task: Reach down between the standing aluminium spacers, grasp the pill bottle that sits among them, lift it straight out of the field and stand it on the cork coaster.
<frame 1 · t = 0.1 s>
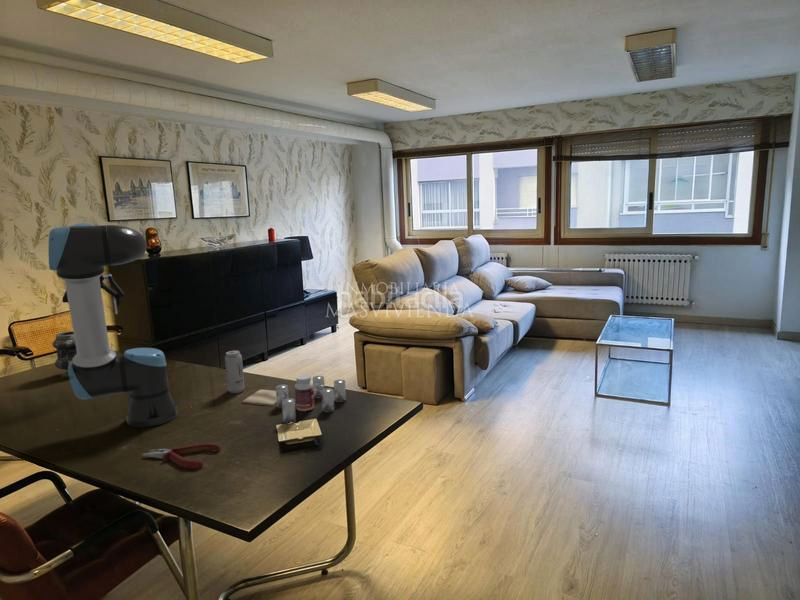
hand: (96, 314, 201), 28 cm above the table, tool tilted 20°, fingers open, 13 cm apart
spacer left: (283, 405, 178), on the table
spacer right: (328, 410, 173), on the table
spacer near: (289, 421, 165), on the table
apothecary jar: (74, 374, 218), on the table
coaster: (266, 398, 185), on the table
grey cylinder: (340, 400, 181), on the table
pill bottle: (305, 408, 176), on the table
pliers: (185, 457, 145), on the table
energy drink can: (236, 391, 193), on the table
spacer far: (319, 396, 186), on the table
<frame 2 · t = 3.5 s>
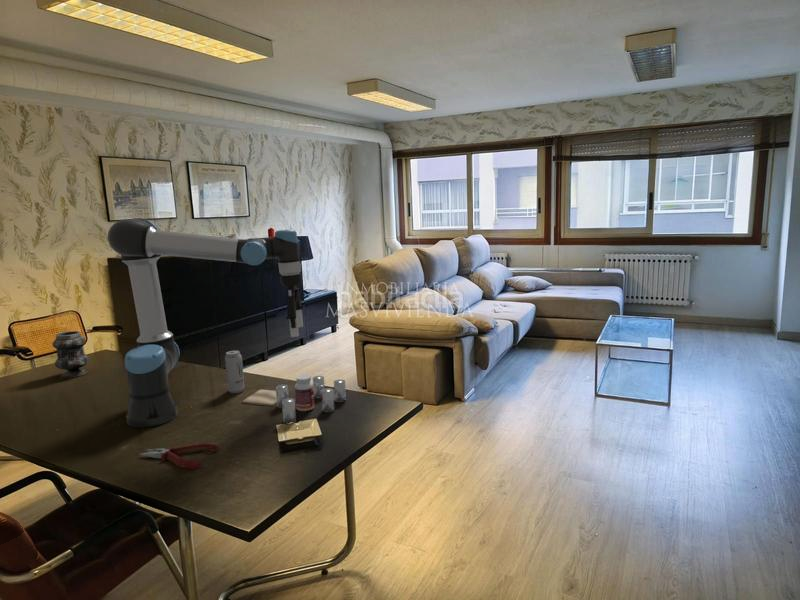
hand: (297, 331, 187), 23 cm above the table, tool pointing down, fingers open, 13 cm apart
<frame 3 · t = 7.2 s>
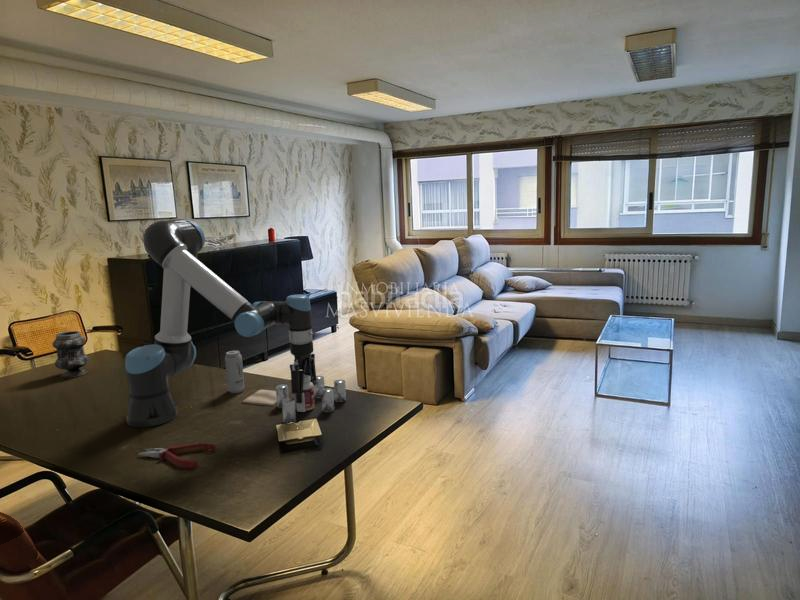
hand: (306, 407, 175), 0 cm above the table, tool pointing down, fingers closed on pill bottle, 6 cm apart
pill bottle: (305, 408, 176), on the table, touching gripper
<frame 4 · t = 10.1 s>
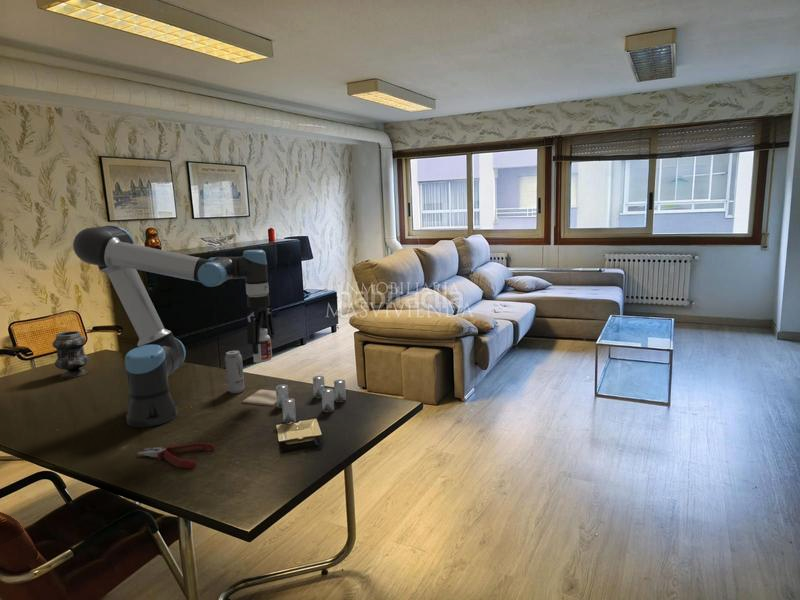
hand: (263, 359, 183), 15 cm above the table, tool pointing down, fingers closed on pill bottle, 6 cm apart
pill bottle: (262, 360, 183), point 14 cm above the table, touching gripper
when the fingers open (2 cm above the table, at t = 12.6 s): pill bottle drops 1 cm, resting on coaster.
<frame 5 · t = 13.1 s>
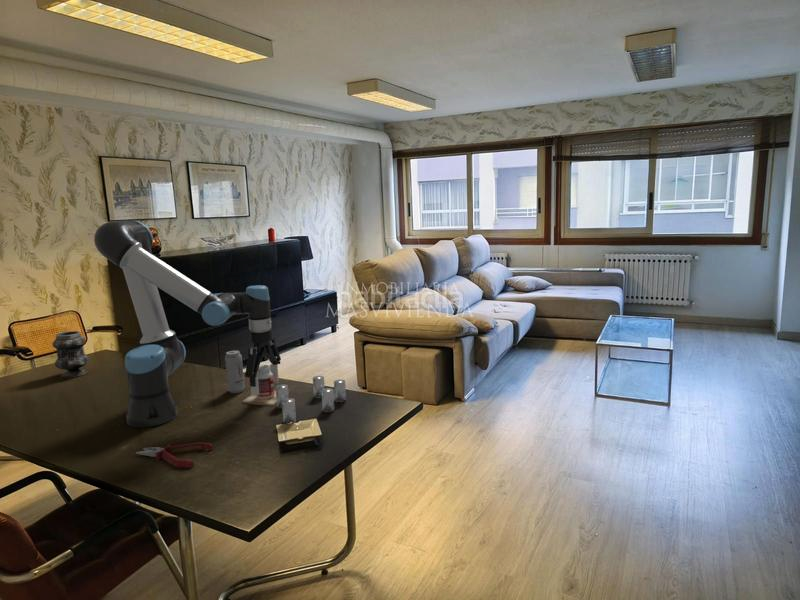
hand: (265, 388, 185), 4 cm above the table, tool pointing down, fingers open, 13 cm apart
pill bottle: (265, 397, 185), resting on coaster
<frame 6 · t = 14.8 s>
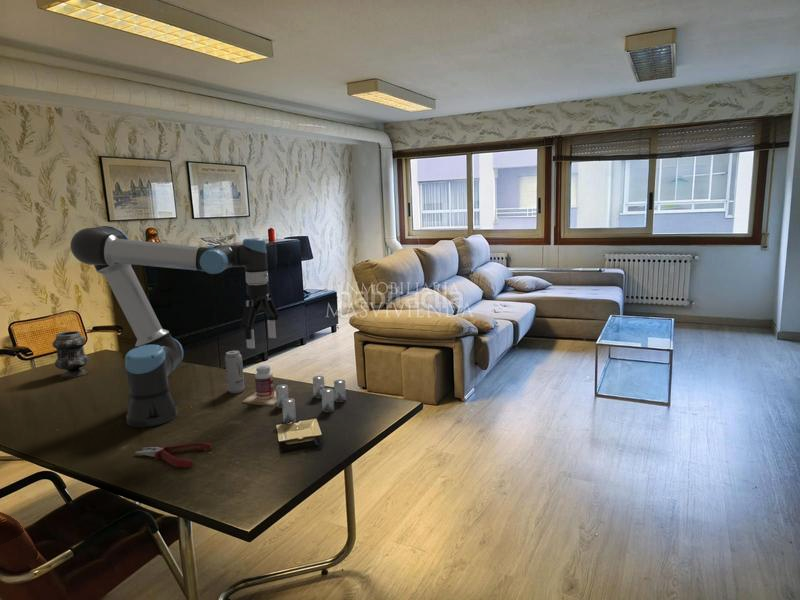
hand: (262, 342, 183), 20 cm above the table, tool pointing down, fingers open, 13 cm apart
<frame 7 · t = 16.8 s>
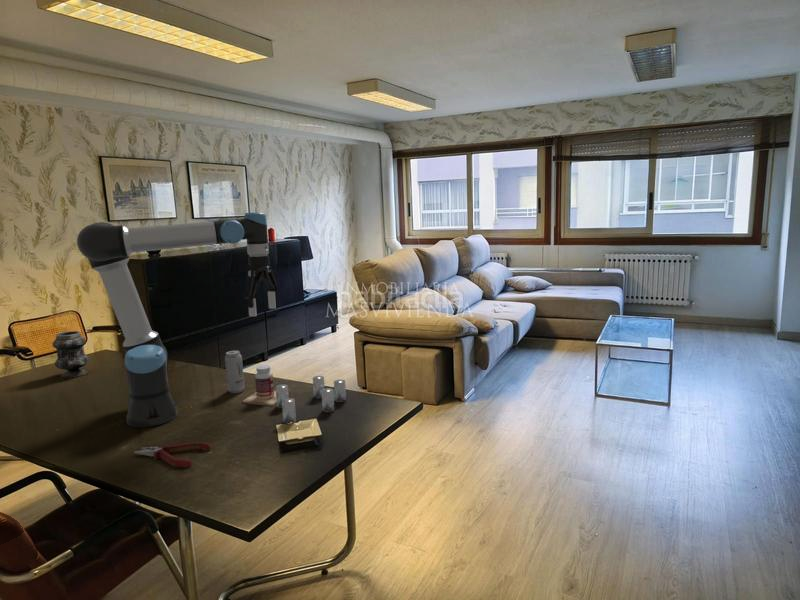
hand: (263, 312, 193), 29 cm above the table, tool pointing down, fingers open, 13 cm apart
at the end: pill bottle inside the target area on the coaster (0.2 cm from its centre), point 0.4 cm above the coaster's base; pill bottle tilted 0°; the gripper is holding nothing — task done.
